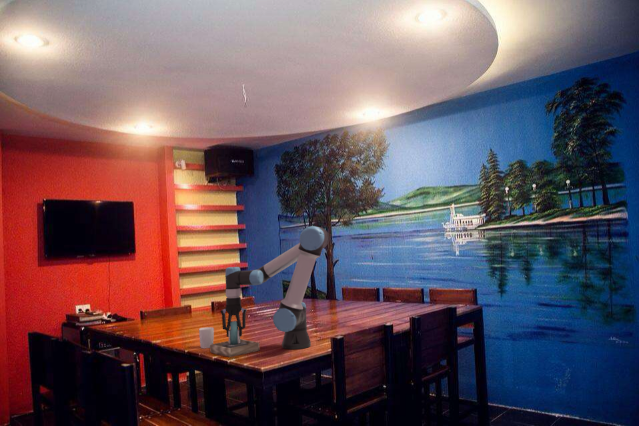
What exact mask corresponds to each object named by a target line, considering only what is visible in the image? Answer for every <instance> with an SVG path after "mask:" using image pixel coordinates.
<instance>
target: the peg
mask: <svg viewBox="0 0 639 426" xmlns="http://www.w3.org/2000/svg"><path fill="white" fill-rule="evenodd" d="M229 330H230V338H231V345H236V344H239V343H238V332H237V331H238V330H239V328H238V323H237V320H231V322H230V329H229Z"/></svg>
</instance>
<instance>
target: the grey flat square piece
mask: <svg viewBox="0 0 639 426" xmlns="http://www.w3.org/2000/svg"><path fill="white" fill-rule="evenodd" d="M260 349H261V348H260V342H258V341H254V340H253V341H252V340H246V339H242V338H240V343H239V344H236V345H231V344H229V340H227V341H223V342H222V341H221V342H217V343H213V344H210V348H209V350H210V351H209V352H210V353H212V354H214V355H220V356H223V357H227V358H232V357H236V356H242V355H246V354H250V353H255V352H260Z"/></svg>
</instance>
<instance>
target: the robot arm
mask: <svg viewBox="0 0 639 426" xmlns="http://www.w3.org/2000/svg"><path fill="white" fill-rule="evenodd" d="M329 242H330V234H329V232H328V231H327V230H326V229H325V228H324V227H322V226H321V227H320V226H315V225H313V226H307V227H305V228H304V229H303V230H302V231H301V233H300V234H299V242H298V243H296V244H295V245H294V246H293V247H291V248H290V249H288V250H286V251H285V252H283V253H281V254H280V255H278V256H276V257H274V259H272V260H270V261H269V262H267V263H266V264H264V265H262V266H261V267H259V268H257V269H251V270H250V269H249V270H241V268H240V267H239V266H229V267H226V268H225V276H224V278H225V297H226V298H225V308H224V309H221V310H220V314H221V320H222V321H221V322H222V330H224V331H226V337H227V338H228V341H229V344H231V338H230V322H231V321H232V317H233V316H235V319H236V321H237V323H238V331H237V332H238V343H240V339H241V337H242V336H243V330H244V329H245V328H246V323H247V322H246V319H247V318H246V313H247V311H248V309H247V308H244V307H243V306H242V297H241V295H242V294H241V286H258V285H262V284H263V283H266V282H267V281H269V279H271V278H273V277H274V276H275V275H277V274H279V273H280V272H282V271H284V270H285V269H287V268H288V267H290V266H291V265H293V264H295V263H296V264H295V267H294V271H293V273H292V276H291V279H290V282H289V286H288V287H287V288H288V289H287V291H286V294H285V296H284V297H285V298H283V299H281V300H280V303H279V307H278V308H277V310H276V311H275V312H274V313H273V316H272V321H273V325H274V327H275V328H276V329H277V330H278V331H280V332H282V333H283V332H284V334H283V339H282V342H281V348H282V349H285V350H286V349H287V350H301V349H306V348H310V347H311V346H312V341H311V339H310V335H309V333H308V329H307V328H308V325H307V322H308V321H307V320H308V319H307V305H306V303H305V302H303V301H304V300H303V299H304V297H305V293H306V291H307V288H308V285H309V282H310V278H311V275H312V273H313V270H314V266H315V263H316V261H317V259H318V258H321V255H322V252H323V249H325V248H326V247H327V245H328V244H329ZM226 312H227V314H228V317H227V319H226ZM240 313H242V315H241V316H242V317H240ZM241 318H242V322H241ZM226 320H227V321H226Z"/></svg>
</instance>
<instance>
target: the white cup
mask: <svg viewBox="0 0 639 426" xmlns="http://www.w3.org/2000/svg"><path fill="white" fill-rule="evenodd" d="M198 333H199V336H198V337H199V343H200V345H199V346H200V349H210V344H214V337H215V335H214V334H215V328H214V327H210V326H209V327H200V328H199V329H198Z"/></svg>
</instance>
